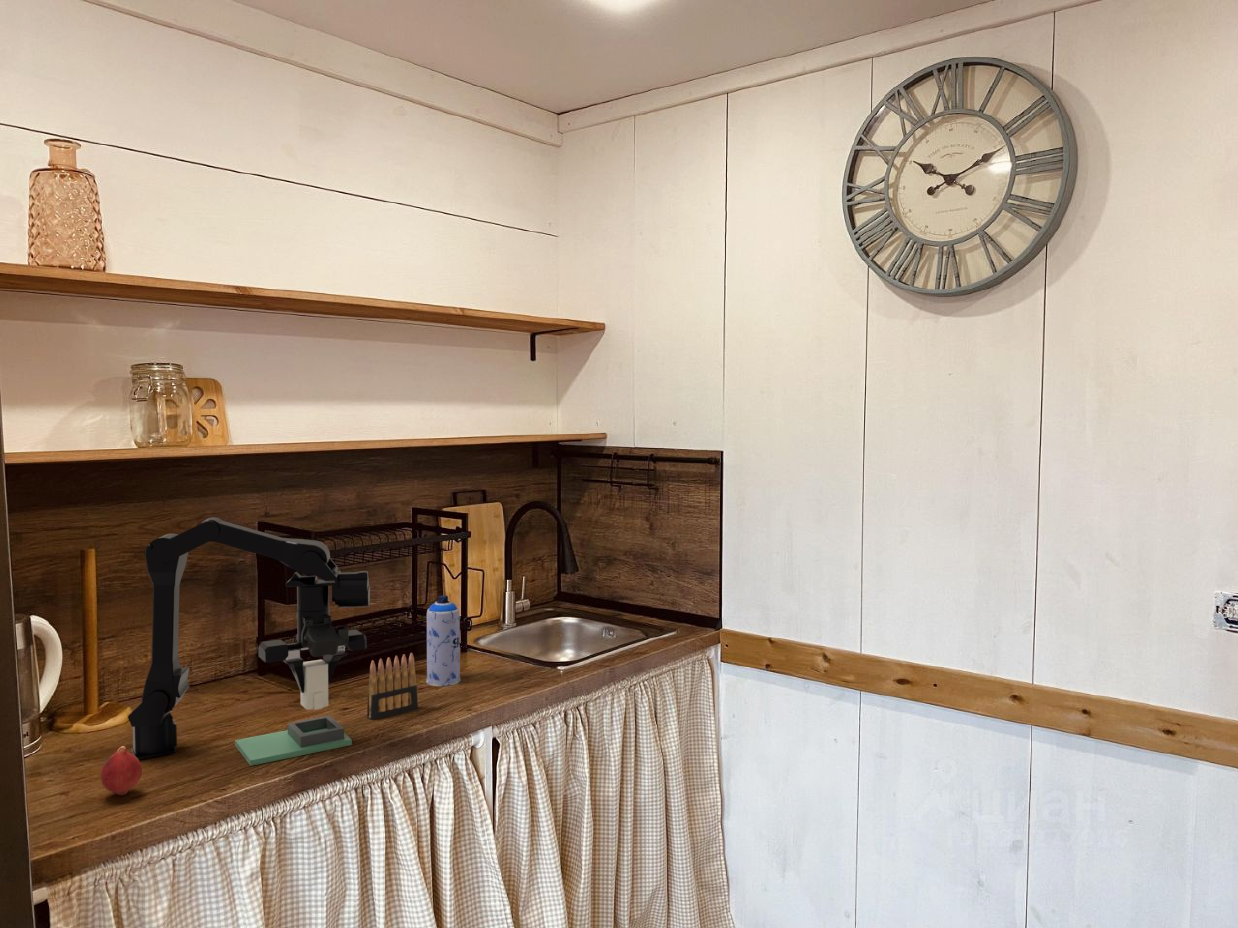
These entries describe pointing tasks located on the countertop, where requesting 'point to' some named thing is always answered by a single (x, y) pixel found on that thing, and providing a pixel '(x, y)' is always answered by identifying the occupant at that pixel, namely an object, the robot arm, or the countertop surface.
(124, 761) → the onion
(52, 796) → the countertop surface
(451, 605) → the aerosol can
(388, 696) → the ammunition clip
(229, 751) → the countertop surface
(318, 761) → the countertop surface
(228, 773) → the countertop surface
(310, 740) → the board
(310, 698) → the plug
